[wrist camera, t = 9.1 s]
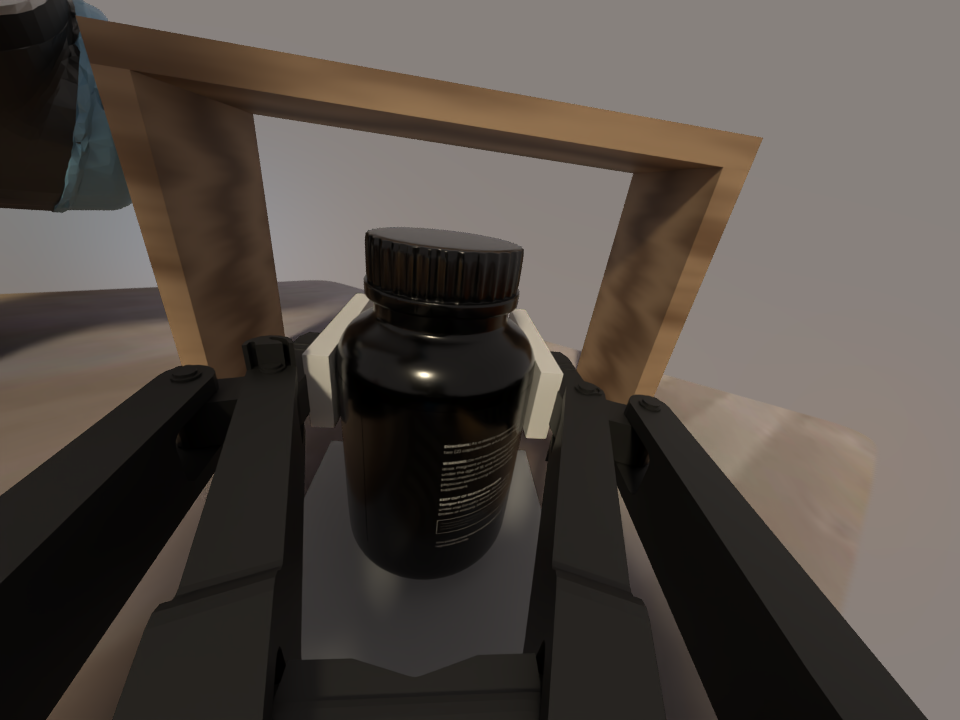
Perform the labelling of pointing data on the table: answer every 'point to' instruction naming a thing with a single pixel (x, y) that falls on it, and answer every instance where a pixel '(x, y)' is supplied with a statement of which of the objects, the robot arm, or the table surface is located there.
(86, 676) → the table surface
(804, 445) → the table surface
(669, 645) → the table surface
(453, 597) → the coaster
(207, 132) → the bridge
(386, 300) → the supplement bottle
